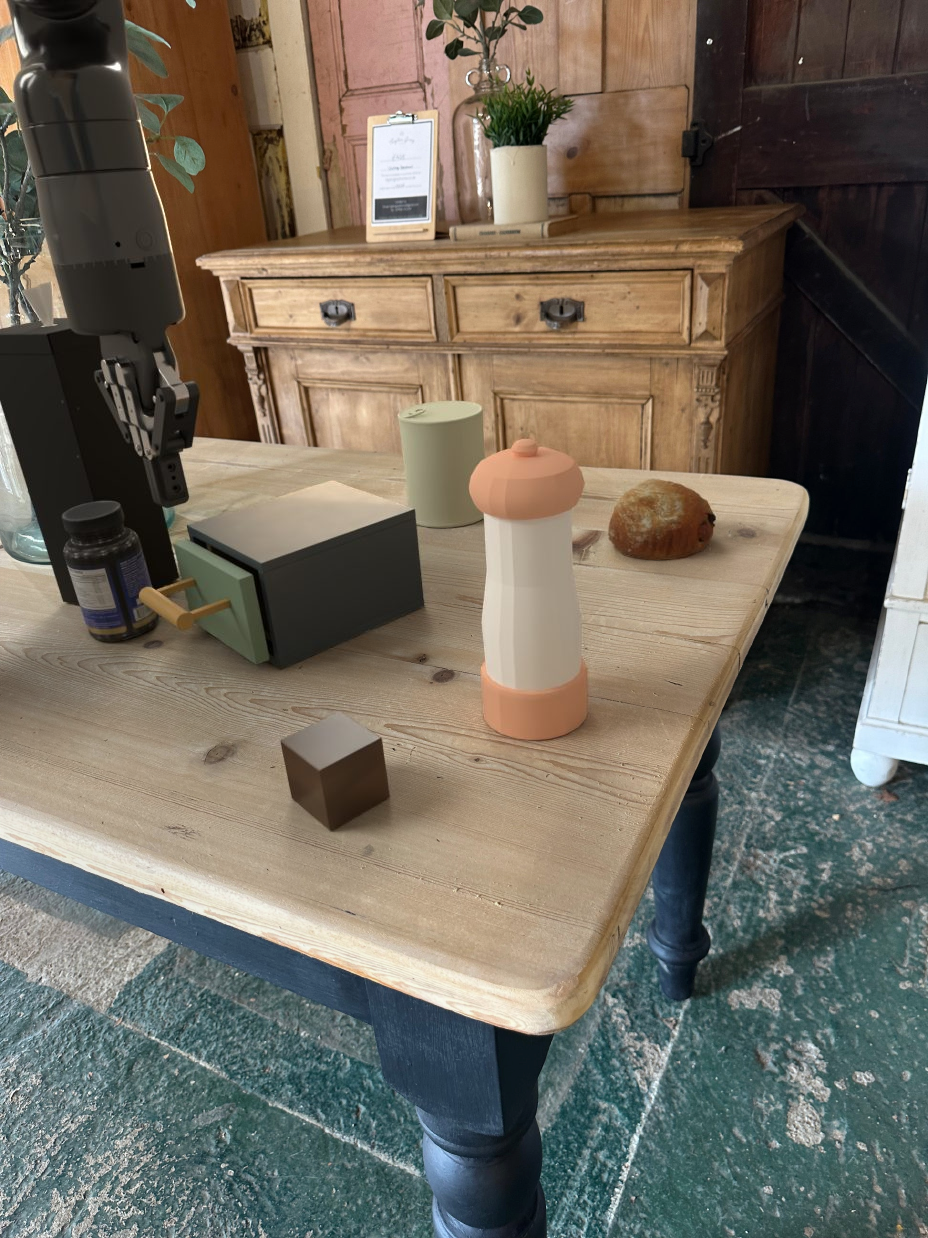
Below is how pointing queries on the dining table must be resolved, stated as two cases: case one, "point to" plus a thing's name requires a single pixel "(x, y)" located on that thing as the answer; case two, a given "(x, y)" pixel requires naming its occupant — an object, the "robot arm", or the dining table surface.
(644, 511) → the bread roll
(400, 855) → the dining table surface
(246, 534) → the cabinet
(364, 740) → the block
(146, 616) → the pill bottle
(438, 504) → the can
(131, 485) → the black tall box
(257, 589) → the drawer
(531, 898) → the dining table surface
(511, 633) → the pepper shaker
